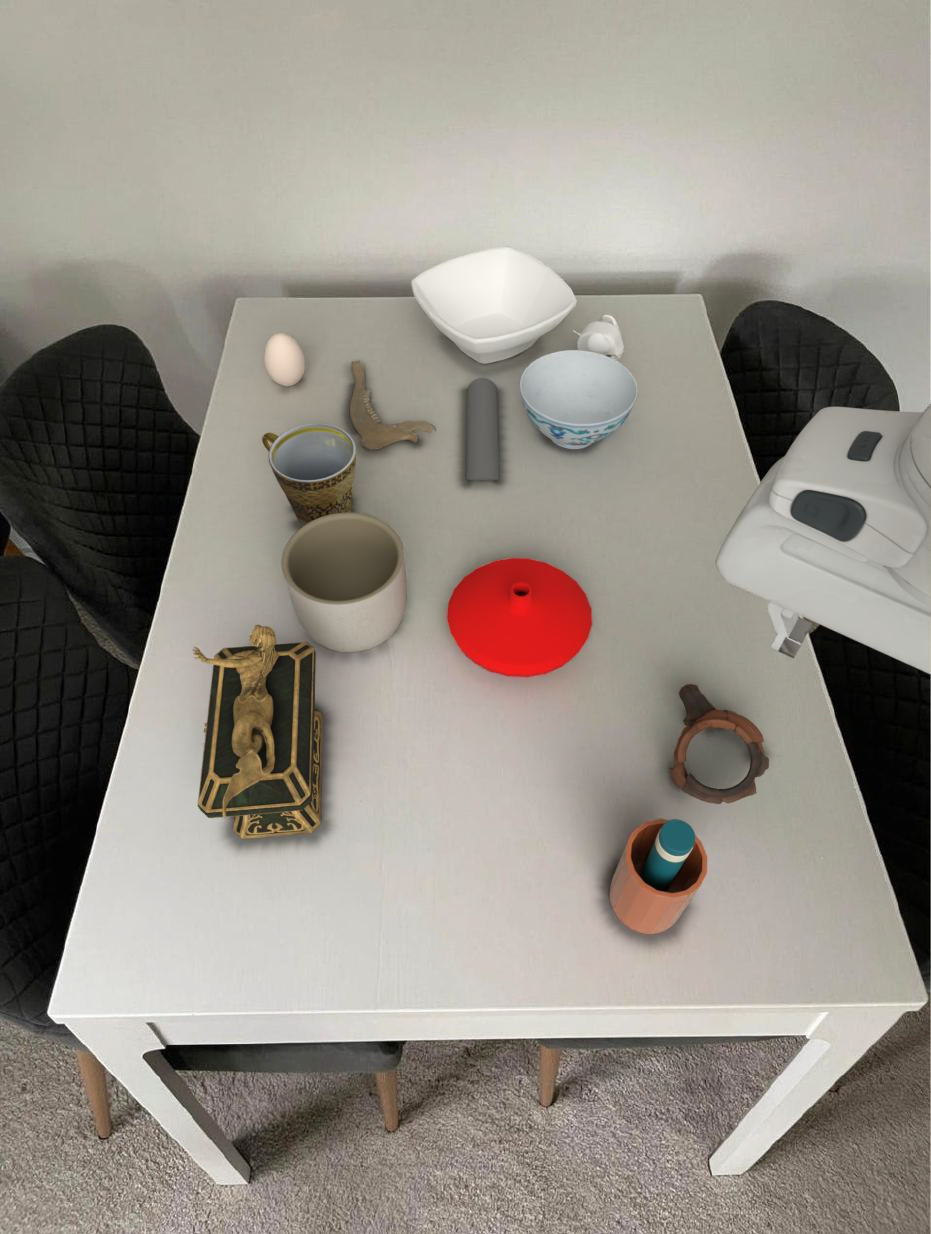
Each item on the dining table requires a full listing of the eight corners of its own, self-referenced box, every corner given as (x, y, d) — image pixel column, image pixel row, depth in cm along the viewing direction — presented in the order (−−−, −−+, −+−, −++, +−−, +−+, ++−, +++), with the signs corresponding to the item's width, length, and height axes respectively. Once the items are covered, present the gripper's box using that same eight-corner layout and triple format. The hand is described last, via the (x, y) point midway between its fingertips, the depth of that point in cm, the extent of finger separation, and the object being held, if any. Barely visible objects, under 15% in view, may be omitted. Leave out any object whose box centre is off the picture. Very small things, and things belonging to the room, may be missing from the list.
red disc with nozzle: (461, 566, 97) (461, 525, 91) (595, 584, 95) (603, 544, 89) (434, 677, 88) (431, 639, 82) (581, 700, 86) (589, 663, 80)
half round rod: (466, 485, 105) (465, 475, 103) (467, 388, 116) (467, 377, 115) (499, 485, 105) (499, 475, 103) (497, 388, 116) (497, 377, 115)
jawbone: (382, 470, 107) (380, 458, 106) (304, 392, 117) (301, 380, 116) (438, 437, 110) (437, 426, 108) (357, 364, 120) (354, 352, 118)
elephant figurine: (614, 379, 118) (620, 343, 113) (562, 365, 120) (566, 329, 115) (629, 353, 121) (635, 317, 116) (578, 339, 123) (582, 304, 118)
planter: (361, 560, 97) (351, 494, 89) (433, 620, 92) (429, 556, 83) (276, 619, 92) (256, 555, 84) (347, 686, 87) (333, 626, 78)
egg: (271, 372, 119) (260, 323, 113) (309, 370, 119) (300, 322, 113) (268, 396, 116) (256, 348, 109) (307, 394, 116) (298, 346, 109)
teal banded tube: (666, 890, 73) (702, 830, 62) (653, 916, 72) (687, 859, 61) (639, 874, 74) (669, 811, 63) (625, 899, 73) (654, 840, 62)
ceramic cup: (380, 504, 103) (373, 443, 95) (330, 554, 98) (317, 494, 90) (301, 465, 107) (287, 403, 99) (249, 511, 102) (230, 450, 94)
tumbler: (693, 887, 74) (720, 846, 66) (662, 948, 71) (686, 913, 63) (629, 849, 76) (648, 805, 68) (596, 907, 73) (612, 868, 65)
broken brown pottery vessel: (785, 774, 81) (792, 774, 73) (701, 821, 83) (699, 826, 75) (716, 671, 85) (716, 661, 77) (637, 717, 86) (629, 712, 78)
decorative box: (236, 702, 86) (184, 584, 70) (329, 695, 86) (297, 576, 70) (219, 893, 74) (151, 803, 58) (327, 884, 74) (288, 792, 59)
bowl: (397, 330, 125) (393, 278, 118) (509, 288, 131) (511, 237, 124) (470, 404, 114) (471, 351, 108) (588, 355, 121) (595, 302, 114)
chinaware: (628, 475, 106) (638, 428, 100) (512, 466, 107) (515, 419, 101) (628, 400, 115) (637, 353, 108) (521, 393, 116) (524, 346, 110)
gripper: (1267, 568, 34) (1071, 730, 45) (790, 395, 41) (721, 573, 52) (1256, 677, 31) (1048, 821, 42) (741, 469, 38) (679, 641, 49)
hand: (864, 682), depth 47 cm, fingers open, 8 cm apart
